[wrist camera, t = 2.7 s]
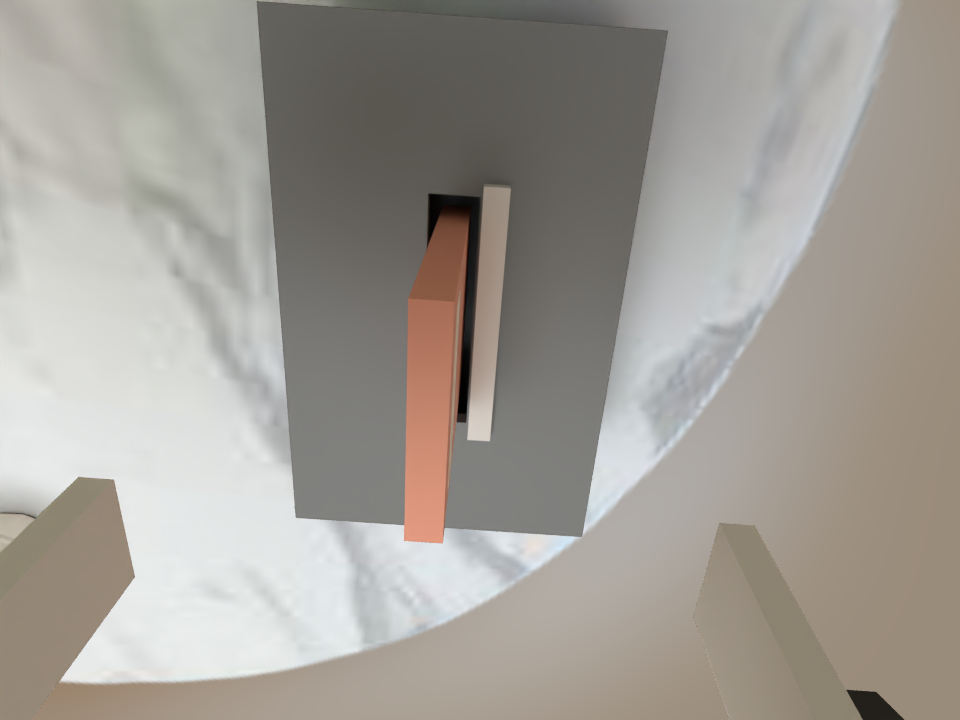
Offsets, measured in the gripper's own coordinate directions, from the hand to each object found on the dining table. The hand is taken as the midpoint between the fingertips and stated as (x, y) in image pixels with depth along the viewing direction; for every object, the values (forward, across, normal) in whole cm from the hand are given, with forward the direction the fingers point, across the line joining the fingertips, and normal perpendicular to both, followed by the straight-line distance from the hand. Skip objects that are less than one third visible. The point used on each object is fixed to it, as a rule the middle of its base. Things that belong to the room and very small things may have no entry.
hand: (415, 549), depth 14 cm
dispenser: (+24, 0, 0) cm, 24 cm away
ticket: (+16, 0, 0) cm, 17 cm away
